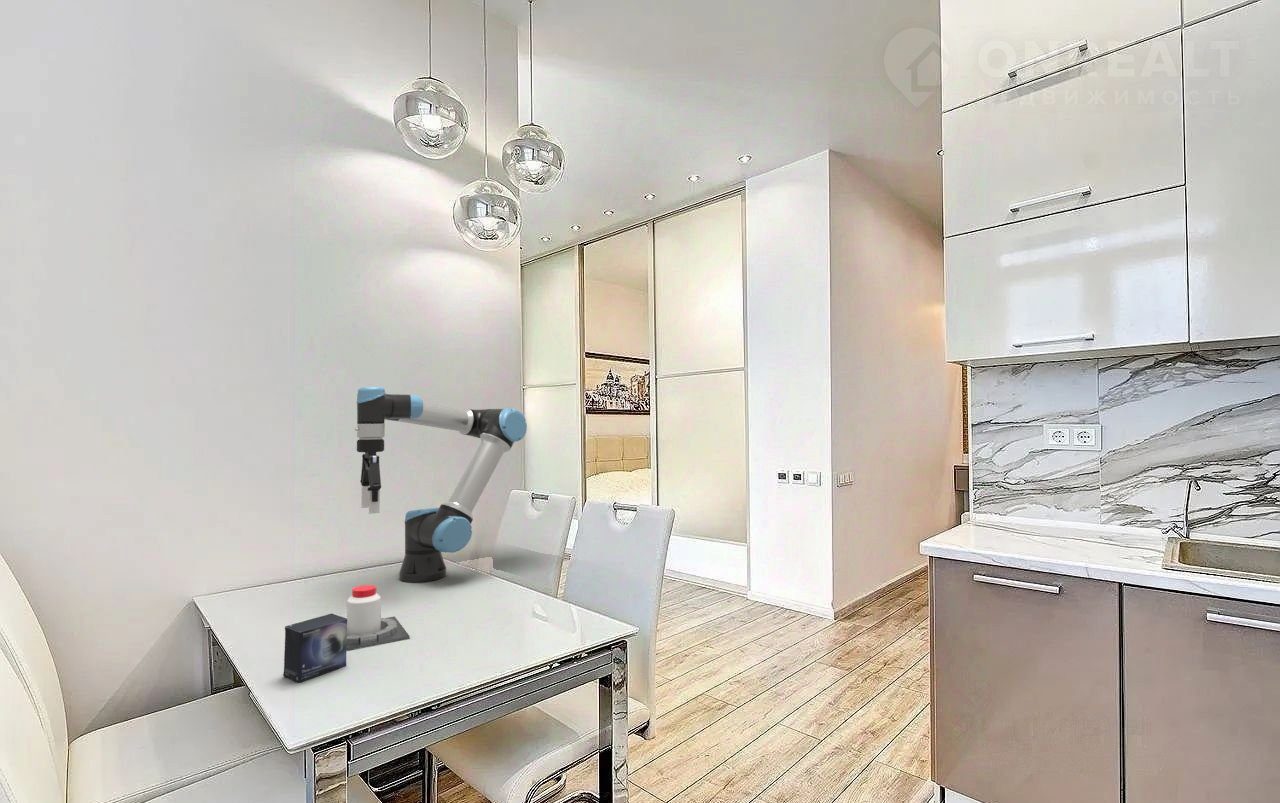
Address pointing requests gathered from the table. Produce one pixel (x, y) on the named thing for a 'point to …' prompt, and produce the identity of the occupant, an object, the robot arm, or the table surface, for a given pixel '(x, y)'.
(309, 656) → the small box
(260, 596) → the table surface
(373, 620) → the pill bottle
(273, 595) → the table surface
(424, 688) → the table surface
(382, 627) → the ring seat
